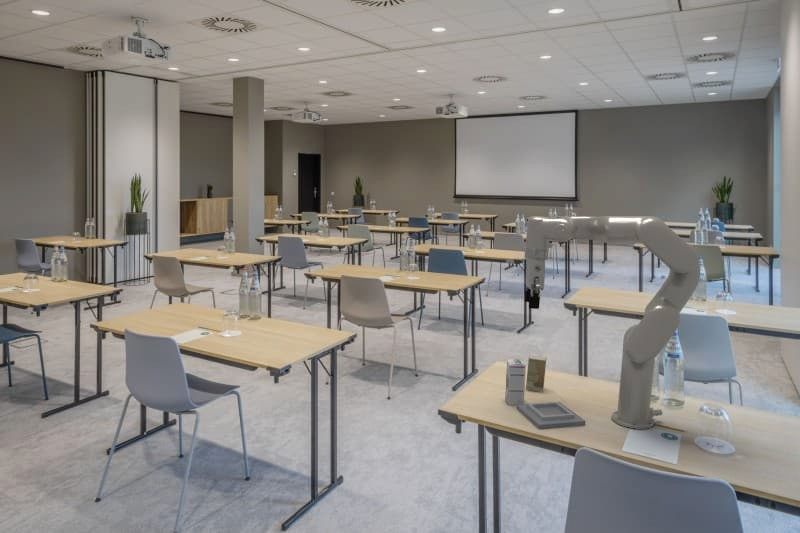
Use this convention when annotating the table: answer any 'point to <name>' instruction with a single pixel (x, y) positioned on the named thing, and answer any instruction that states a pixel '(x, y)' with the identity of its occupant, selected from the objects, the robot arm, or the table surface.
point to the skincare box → (536, 373)
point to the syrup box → (515, 382)
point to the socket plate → (550, 415)
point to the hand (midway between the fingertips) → (531, 305)
